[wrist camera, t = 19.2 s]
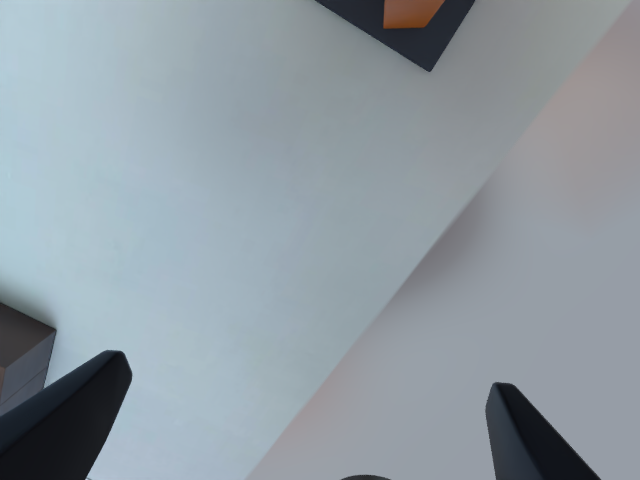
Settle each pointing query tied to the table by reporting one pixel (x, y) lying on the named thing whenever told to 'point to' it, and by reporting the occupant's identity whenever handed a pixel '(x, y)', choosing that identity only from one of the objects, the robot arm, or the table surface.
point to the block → (409, 13)
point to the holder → (22, 357)
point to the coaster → (413, 43)
